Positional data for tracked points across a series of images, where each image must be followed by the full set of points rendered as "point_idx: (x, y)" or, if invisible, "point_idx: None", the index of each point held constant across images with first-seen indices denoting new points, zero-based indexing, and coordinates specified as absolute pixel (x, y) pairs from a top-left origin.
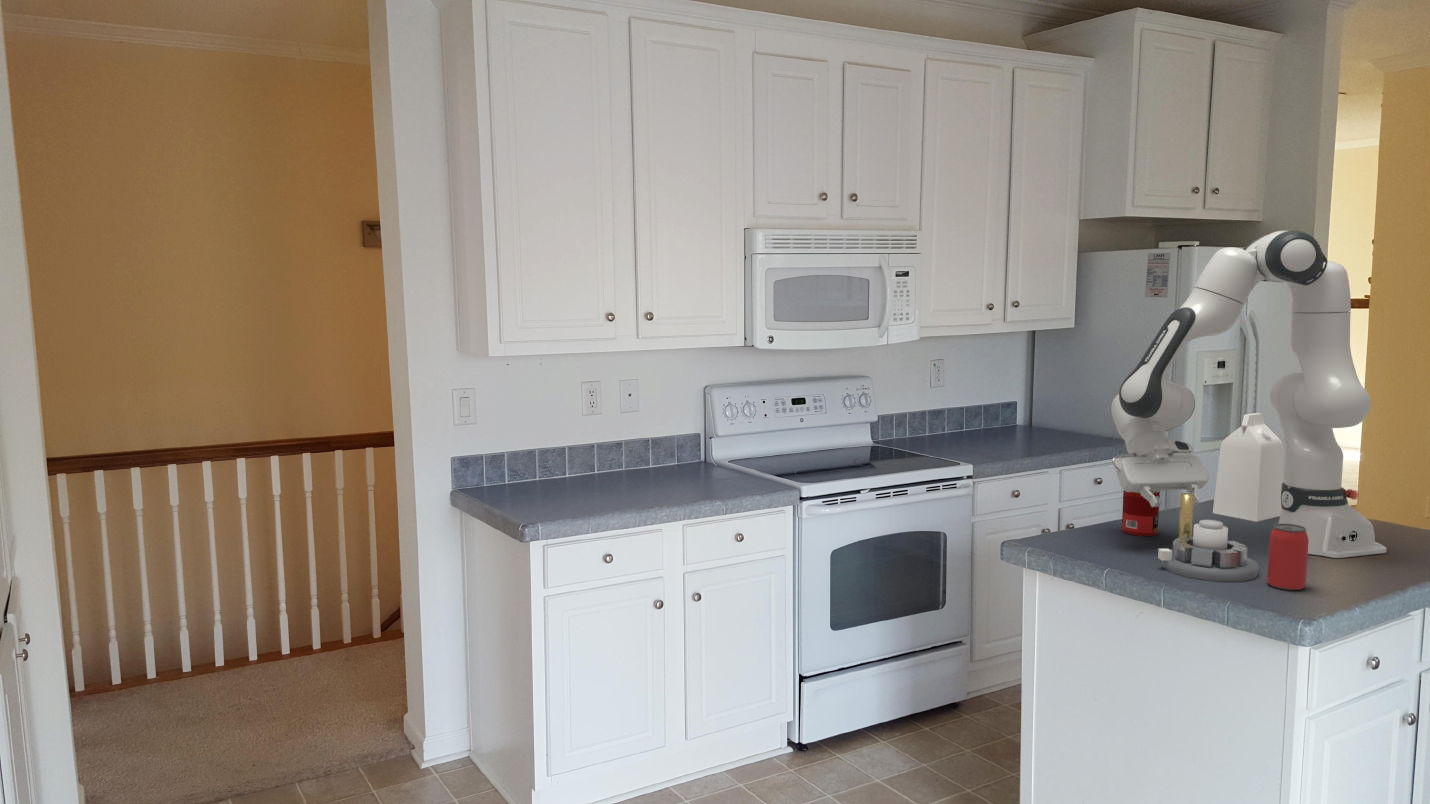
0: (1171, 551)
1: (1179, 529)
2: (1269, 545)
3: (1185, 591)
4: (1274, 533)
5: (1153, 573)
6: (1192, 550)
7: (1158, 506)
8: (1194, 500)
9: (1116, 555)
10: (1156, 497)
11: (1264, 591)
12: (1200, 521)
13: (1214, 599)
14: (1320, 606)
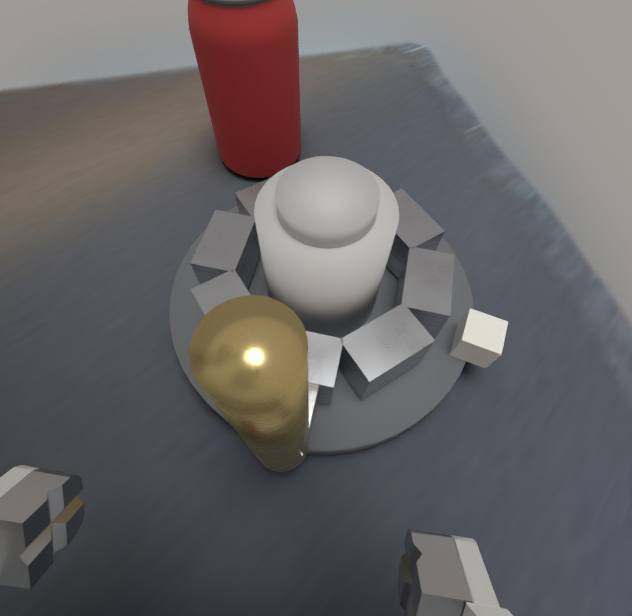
0: (471, 309)
1: (307, 435)
2: (280, 75)
3: (526, 194)
4: (289, 10)
5: (526, 330)
6: (442, 231)
7: (400, 566)
8: (64, 475)
9: (552, 599)
10: (450, 583)
11: (341, 147)
12: (366, 215)
13: (492, 145)
14: (316, 74)
